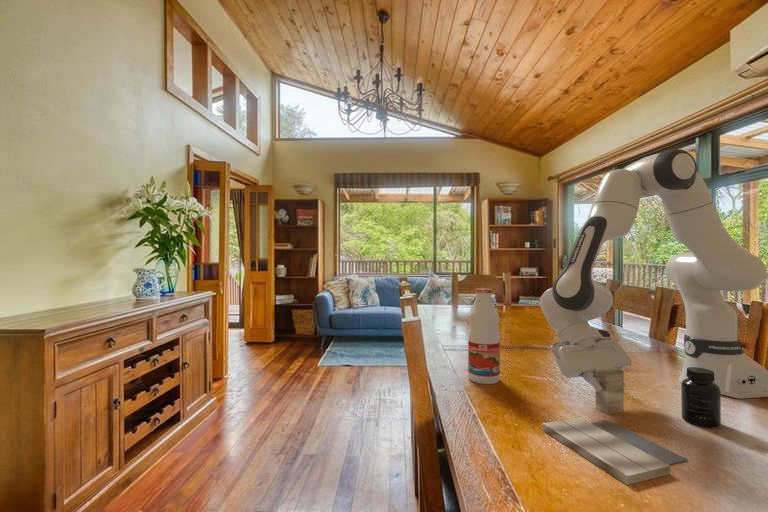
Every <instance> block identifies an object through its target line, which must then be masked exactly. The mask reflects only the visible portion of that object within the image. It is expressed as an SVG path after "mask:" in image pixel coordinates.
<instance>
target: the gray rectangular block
mask: <svg viewBox="0 0 768 512" xmlns="http://www.w3.org/2000/svg"><path fill="white" fill-rule="evenodd" d="M624 376H625V370H624V371H623V370H620V369H617V368H614V367H606V368H598V369H596V375H595V379H596V380H597V381H599V382H602V383H603V385H604V386H605V390H603V391H601V392H597V391H596V390H595V409H596V410H598V411H599V412H602V413H604V414H606V415H612V414H618V413H623V412H625V410H624V409H625V408H624V405H625V403H624V401H625V397H624V396H625V395H624V393H625V389H624V388H625V387H624V383H625V381H624V380H625V379H624Z"/></svg>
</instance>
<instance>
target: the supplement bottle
mask: <svg viewBox="0 0 768 512" xmlns="http://www.w3.org/2000/svg"><path fill="white" fill-rule="evenodd" d="M686 376H687V377H688V378H687V379H684V380H683V381H682V383H681V382H680V383H681V385H680V386H681V395H680V396H681V397H680V398H681V400H680V401H681V418H682V420H684V421H685V422H686V423H689V424H690V425H693V426H697V427H700V428H705V429H717V428H719V427H721V425H722V423H721V421H722V420H721V419H722V417H721V416H722V411H721V410H722V408H721V407H722V405H721V404H722V403H721V395H722V394H721V391H720V388H719V386H718V385H717V384H715V383H714V382H713V381H715V378H714V372H713V371H711V370H708V369H704V368H698V367H689V368H687V374H686Z"/></svg>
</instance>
